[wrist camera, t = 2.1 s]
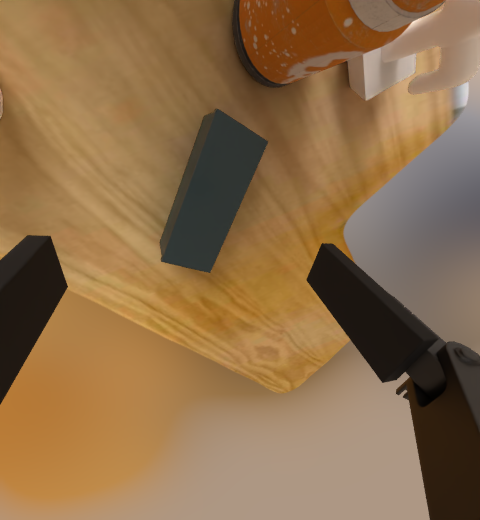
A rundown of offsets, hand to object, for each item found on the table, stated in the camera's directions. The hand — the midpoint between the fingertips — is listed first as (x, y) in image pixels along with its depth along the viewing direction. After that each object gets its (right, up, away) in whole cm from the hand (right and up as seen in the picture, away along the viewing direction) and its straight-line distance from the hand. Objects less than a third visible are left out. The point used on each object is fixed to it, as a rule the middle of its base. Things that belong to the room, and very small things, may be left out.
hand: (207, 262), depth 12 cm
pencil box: (-3, +8, +15) cm, 17 cm away
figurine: (+16, +24, +15) cm, 33 cm away
